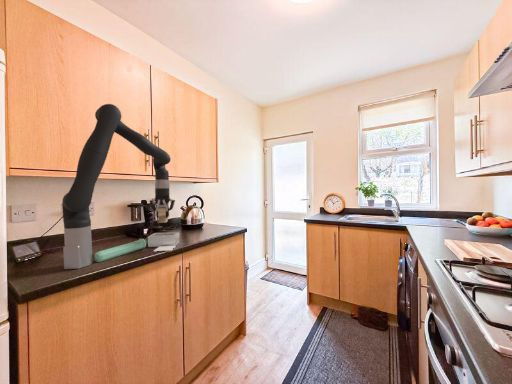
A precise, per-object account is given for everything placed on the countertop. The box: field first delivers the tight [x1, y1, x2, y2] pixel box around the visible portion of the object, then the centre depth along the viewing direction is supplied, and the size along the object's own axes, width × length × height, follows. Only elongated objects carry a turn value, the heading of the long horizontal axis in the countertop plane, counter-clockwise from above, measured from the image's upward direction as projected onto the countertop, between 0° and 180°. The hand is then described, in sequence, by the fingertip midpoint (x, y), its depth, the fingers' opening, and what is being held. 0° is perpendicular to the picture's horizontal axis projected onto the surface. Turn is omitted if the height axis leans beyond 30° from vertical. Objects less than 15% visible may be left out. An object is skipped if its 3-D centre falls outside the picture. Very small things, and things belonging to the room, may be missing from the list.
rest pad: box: [152, 245, 177, 253], centre depth 120 cm, size 9×9×1 cm
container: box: [93, 238, 147, 263], centre depth 112 cm, size 6×6×25 cm
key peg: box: [157, 205, 169, 224], centre depth 125 cm, size 4×4×10 cm
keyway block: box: [147, 231, 180, 248], centre depth 131 cm, size 10×15×6 cm, turn 94°
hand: (162, 217), depth 125 cm, fingers closed on key peg, 4 cm apart
